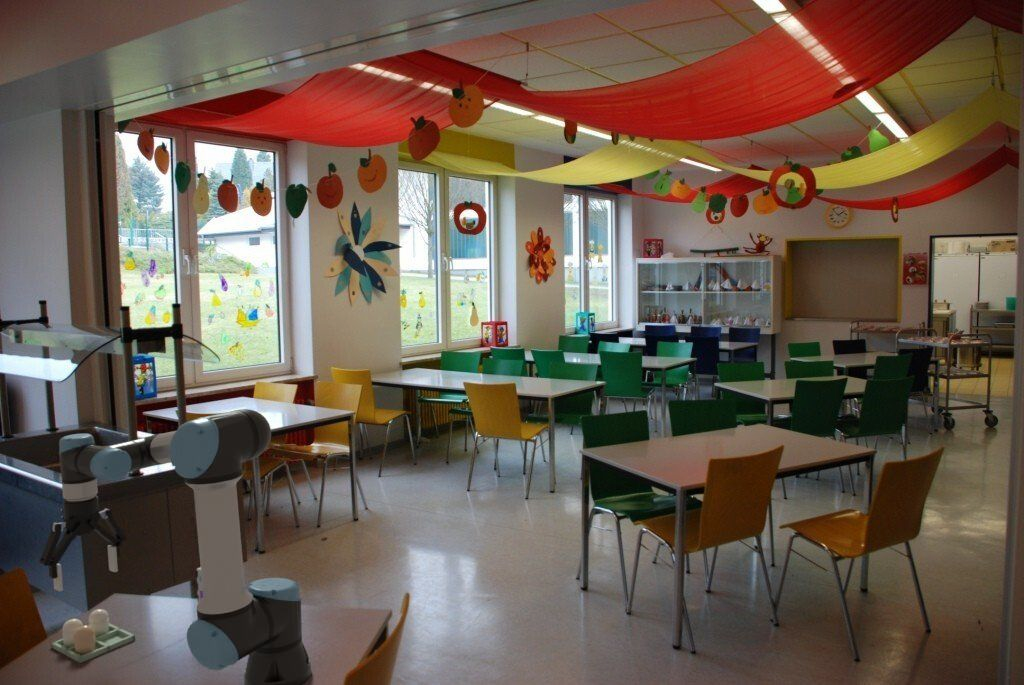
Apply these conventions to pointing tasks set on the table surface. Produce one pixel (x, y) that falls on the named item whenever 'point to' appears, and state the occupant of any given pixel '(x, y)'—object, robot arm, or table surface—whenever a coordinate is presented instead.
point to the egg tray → (98, 644)
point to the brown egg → (84, 640)
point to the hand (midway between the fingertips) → (86, 580)
